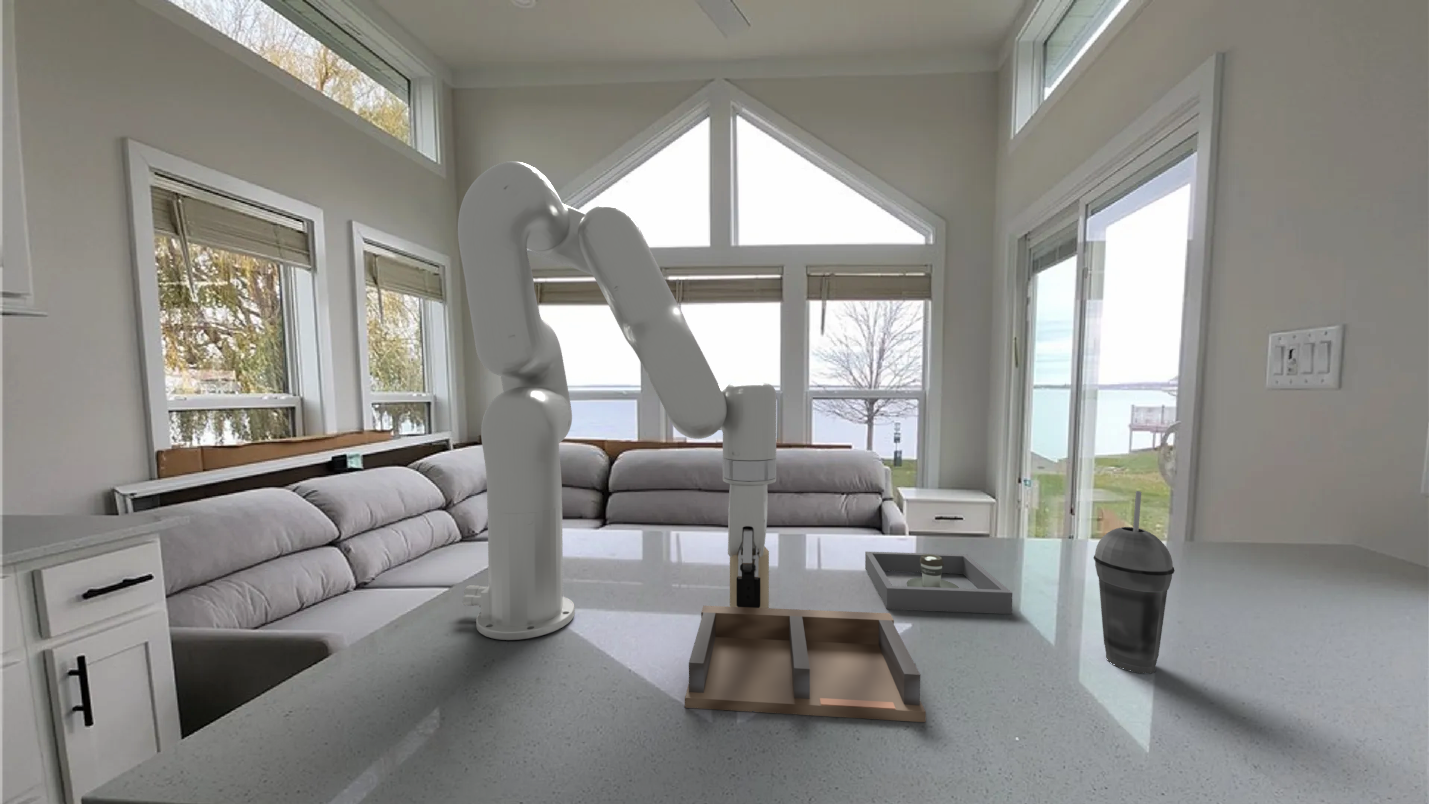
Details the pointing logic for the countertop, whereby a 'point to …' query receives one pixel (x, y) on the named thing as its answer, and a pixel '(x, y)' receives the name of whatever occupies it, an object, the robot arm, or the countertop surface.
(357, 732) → the countertop surface
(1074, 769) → the countertop surface
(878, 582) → the grey shallow square tray
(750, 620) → the wooden divided tray
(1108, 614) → the beverage cup
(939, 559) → the coffee cup
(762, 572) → the candle
